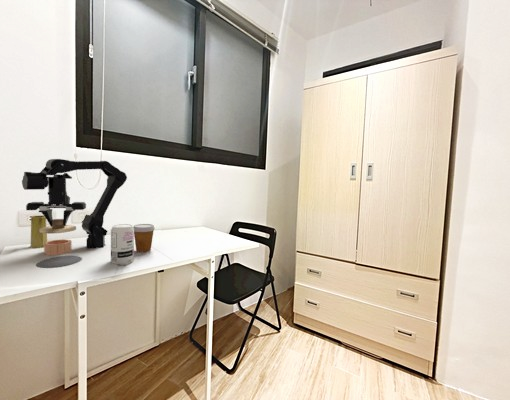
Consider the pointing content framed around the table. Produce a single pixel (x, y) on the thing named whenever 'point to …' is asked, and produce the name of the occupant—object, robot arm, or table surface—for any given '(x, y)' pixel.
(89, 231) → the robot arm
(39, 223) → the vase
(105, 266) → the table surface
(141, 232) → the disposable coffee cup
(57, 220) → the lid
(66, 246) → the bowl
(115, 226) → the supplement can
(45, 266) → the mat
